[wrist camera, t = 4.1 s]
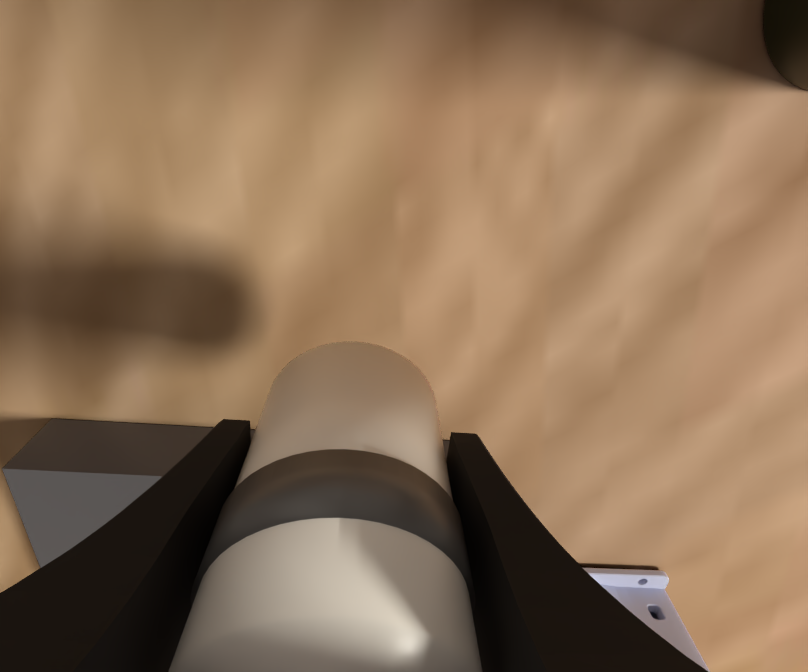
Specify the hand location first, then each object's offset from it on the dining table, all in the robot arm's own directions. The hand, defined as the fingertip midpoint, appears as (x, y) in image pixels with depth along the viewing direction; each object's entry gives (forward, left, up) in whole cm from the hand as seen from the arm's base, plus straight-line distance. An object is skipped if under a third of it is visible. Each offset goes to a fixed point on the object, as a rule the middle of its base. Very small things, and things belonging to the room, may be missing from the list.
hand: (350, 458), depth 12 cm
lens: (0, 0, -2) cm, 2 cm away
